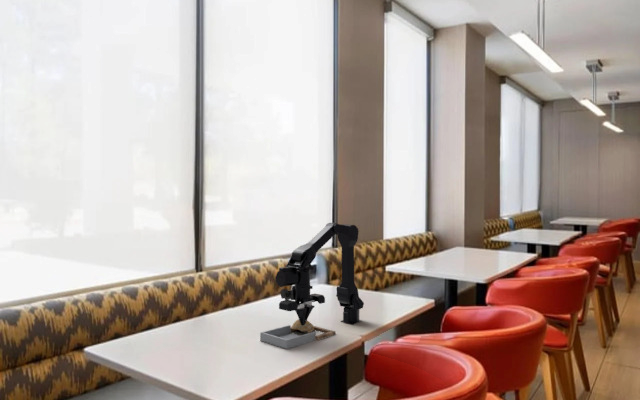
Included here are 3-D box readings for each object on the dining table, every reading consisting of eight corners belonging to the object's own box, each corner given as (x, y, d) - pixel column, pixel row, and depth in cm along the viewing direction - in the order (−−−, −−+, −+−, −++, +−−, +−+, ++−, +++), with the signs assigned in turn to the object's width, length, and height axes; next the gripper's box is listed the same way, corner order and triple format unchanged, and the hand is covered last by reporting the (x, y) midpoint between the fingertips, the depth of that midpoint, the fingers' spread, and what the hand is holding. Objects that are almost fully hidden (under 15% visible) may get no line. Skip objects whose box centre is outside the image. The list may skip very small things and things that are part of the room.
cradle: (304, 327, 194) (304, 323, 194) (335, 335, 182) (335, 331, 182) (286, 332, 187) (286, 328, 187) (317, 341, 176) (317, 336, 176)
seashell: (304, 332, 180) (292, 316, 185) (298, 342, 183) (287, 327, 187) (320, 327, 186) (308, 312, 190) (315, 337, 188) (303, 322, 193)
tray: (289, 332, 186) (289, 325, 186) (315, 340, 176) (315, 332, 176) (260, 340, 176) (260, 332, 176) (286, 349, 166) (286, 340, 166)
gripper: (305, 277, 194) (305, 316, 194) (268, 284, 180) (269, 326, 180) (325, 280, 186) (326, 321, 186) (289, 288, 172) (289, 332, 173)
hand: (302, 325), depth 182 cm, fingers closed
